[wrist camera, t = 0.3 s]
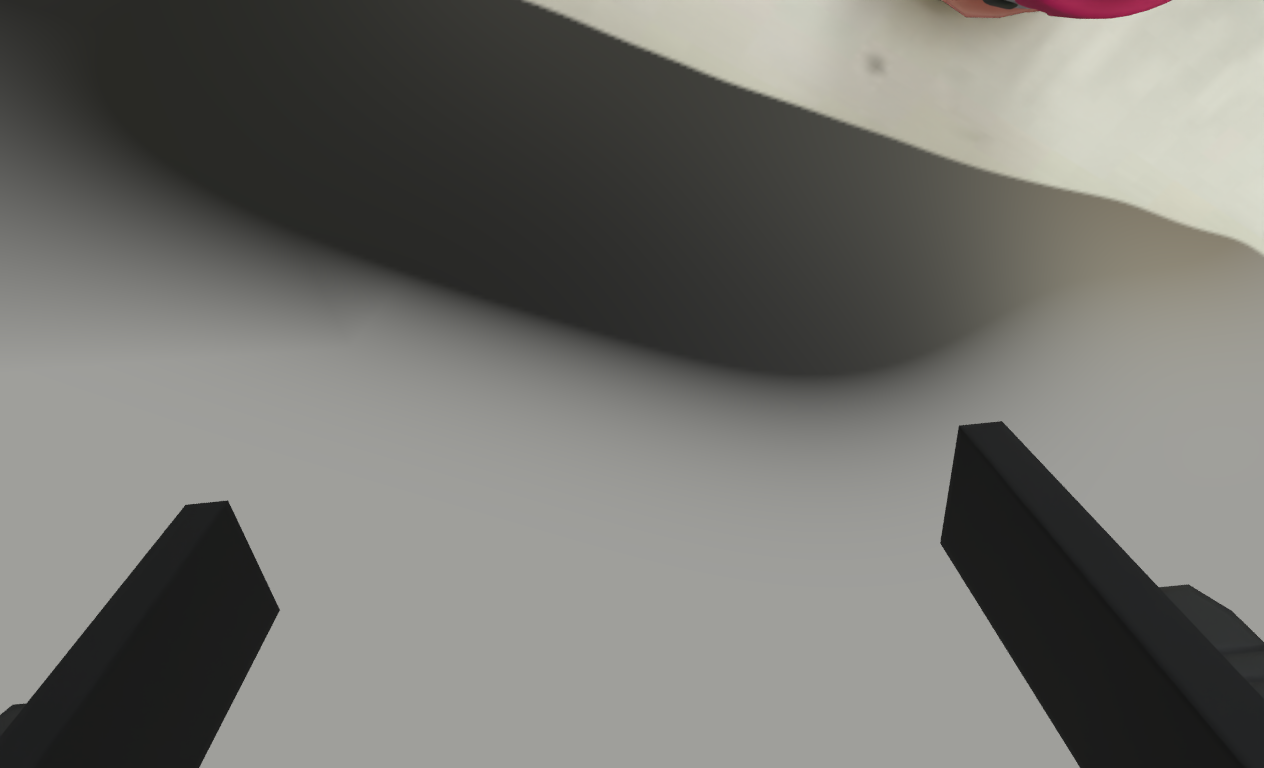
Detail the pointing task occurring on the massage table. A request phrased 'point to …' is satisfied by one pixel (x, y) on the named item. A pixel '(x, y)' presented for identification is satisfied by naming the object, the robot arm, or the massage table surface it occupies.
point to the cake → (1054, 7)
